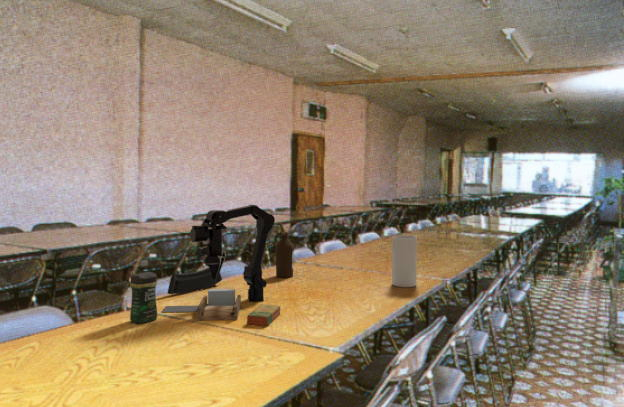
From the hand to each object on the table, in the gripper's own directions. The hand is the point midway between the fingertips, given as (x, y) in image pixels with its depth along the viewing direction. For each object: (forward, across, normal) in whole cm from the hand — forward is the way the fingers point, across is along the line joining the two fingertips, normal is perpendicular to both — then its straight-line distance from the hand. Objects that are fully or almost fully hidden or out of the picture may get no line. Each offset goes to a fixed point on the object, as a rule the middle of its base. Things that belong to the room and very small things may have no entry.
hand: (216, 276), depth 200 cm
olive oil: (+14, -62, +28) cm, 69 cm away
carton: (+14, +18, +21) cm, 31 cm away
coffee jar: (+13, +18, -25) cm, 33 cm away
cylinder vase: (+14, -40, +90) cm, 99 cm away
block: (+13, +3, +3) cm, 14 cm away
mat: (+13, +3, -13) cm, 19 cm away
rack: (+13, +9, +3) cm, 16 cm away
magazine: (+14, -30, -15) cm, 36 cm away
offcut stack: (+13, +14, +3) cm, 19 cm away
